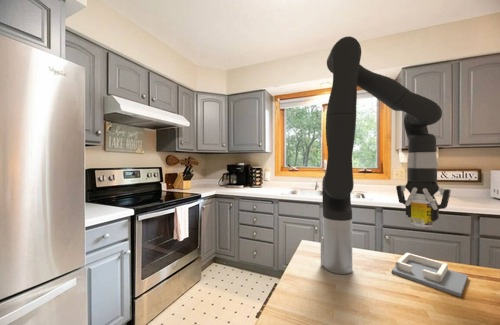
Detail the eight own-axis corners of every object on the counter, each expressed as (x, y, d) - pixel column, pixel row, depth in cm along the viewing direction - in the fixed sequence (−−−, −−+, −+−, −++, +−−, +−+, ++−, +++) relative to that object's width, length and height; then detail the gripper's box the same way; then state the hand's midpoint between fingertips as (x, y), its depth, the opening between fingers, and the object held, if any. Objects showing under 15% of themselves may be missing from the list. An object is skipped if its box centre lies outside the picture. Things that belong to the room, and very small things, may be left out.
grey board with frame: (391, 272, 69) (391, 263, 69) (405, 259, 78) (405, 251, 78) (460, 297, 57) (460, 286, 57) (467, 278, 66) (467, 268, 66)
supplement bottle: (429, 228, 65) (429, 195, 65) (407, 224, 70) (407, 193, 70) (435, 225, 69) (435, 193, 68) (414, 221, 73) (414, 191, 73)
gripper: (392, 166, 72) (391, 216, 73) (449, 167, 61) (449, 226, 61) (399, 166, 77) (399, 212, 77) (454, 166, 66) (454, 221, 66)
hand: (421, 218), depth 69 cm, fingers closed on supplement bottle, 5 cm apart
